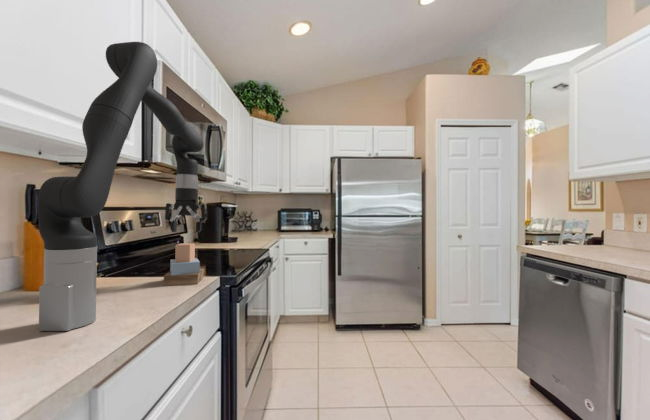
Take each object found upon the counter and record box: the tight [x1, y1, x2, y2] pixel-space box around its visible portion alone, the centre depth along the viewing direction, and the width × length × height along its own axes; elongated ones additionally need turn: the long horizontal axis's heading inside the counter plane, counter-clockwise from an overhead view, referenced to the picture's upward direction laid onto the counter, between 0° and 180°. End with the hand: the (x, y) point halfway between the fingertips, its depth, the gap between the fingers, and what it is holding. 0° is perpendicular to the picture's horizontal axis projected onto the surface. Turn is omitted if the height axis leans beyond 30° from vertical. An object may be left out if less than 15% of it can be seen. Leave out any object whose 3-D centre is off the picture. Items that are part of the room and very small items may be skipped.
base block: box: [163, 268, 205, 286], centre depth 112 cm, size 11×11×4 cm
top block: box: [169, 257, 201, 275], centre depth 111 cm, size 9×9×4 cm
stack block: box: [174, 242, 196, 262], centre depth 111 cm, size 5×5×6 cm
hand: (186, 232), depth 111 cm, fingers open, 8 cm apart
